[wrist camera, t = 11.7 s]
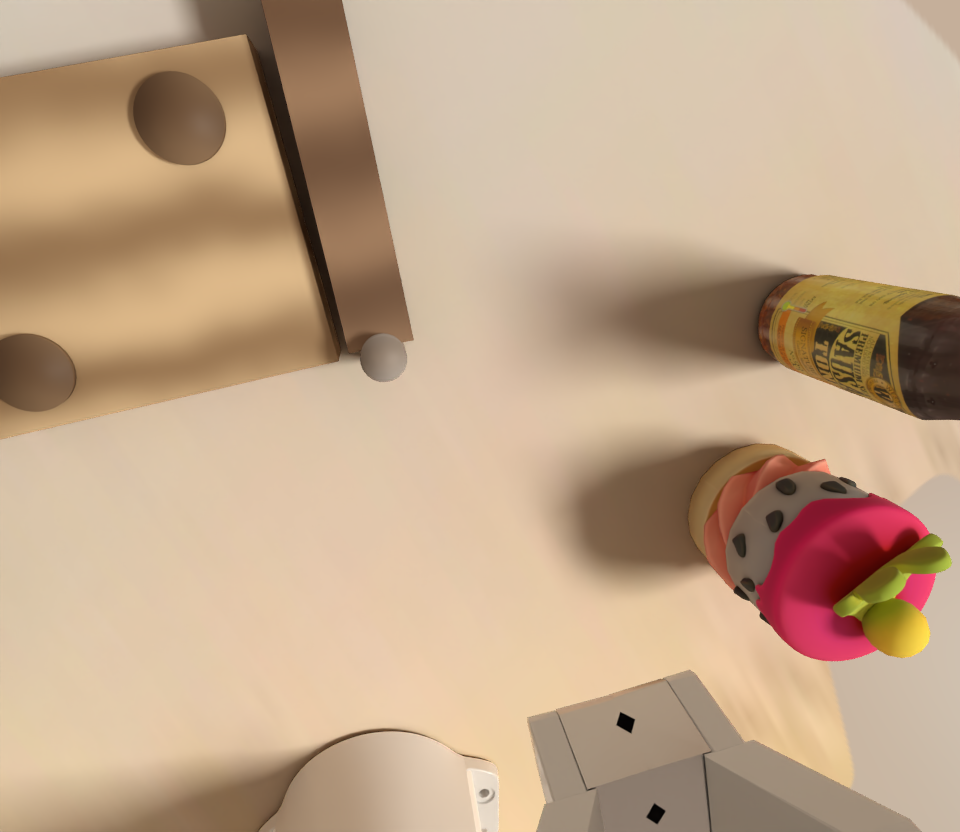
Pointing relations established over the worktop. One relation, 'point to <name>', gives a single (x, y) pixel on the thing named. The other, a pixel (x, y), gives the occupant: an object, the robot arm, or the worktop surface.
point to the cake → (817, 554)
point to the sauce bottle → (869, 341)
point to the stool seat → (148, 236)
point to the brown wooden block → (342, 178)
